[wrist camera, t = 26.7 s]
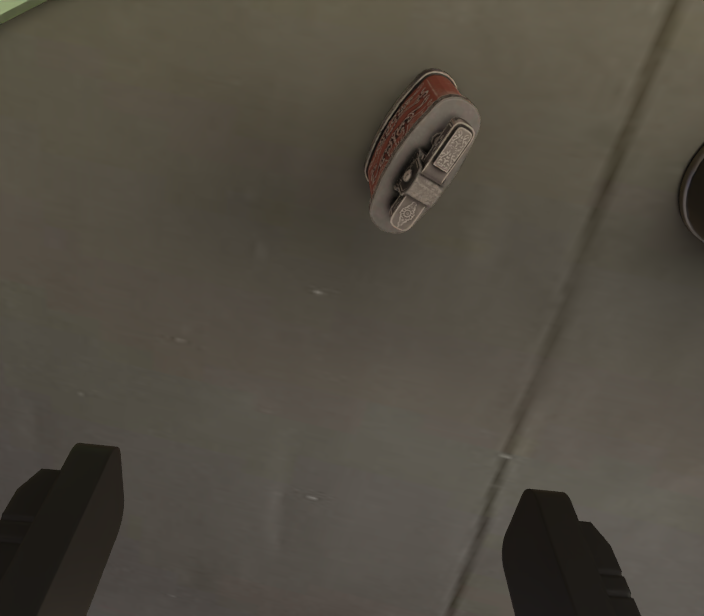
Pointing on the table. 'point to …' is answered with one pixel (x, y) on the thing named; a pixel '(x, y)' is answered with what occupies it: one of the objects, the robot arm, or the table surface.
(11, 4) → the organizer
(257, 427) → the table surface
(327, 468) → the table surface
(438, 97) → the lighter
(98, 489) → the robot arm
